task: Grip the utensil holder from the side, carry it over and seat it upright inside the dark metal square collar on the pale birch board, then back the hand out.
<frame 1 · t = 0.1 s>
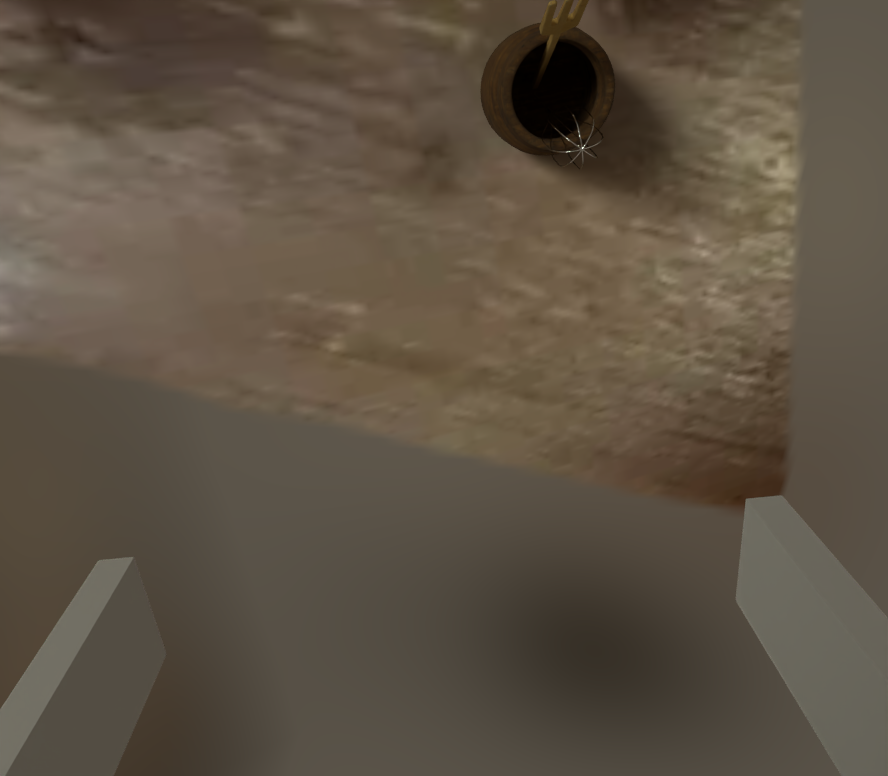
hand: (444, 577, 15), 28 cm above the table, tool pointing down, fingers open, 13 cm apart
utensil holder: (533, 87, 37), on the table
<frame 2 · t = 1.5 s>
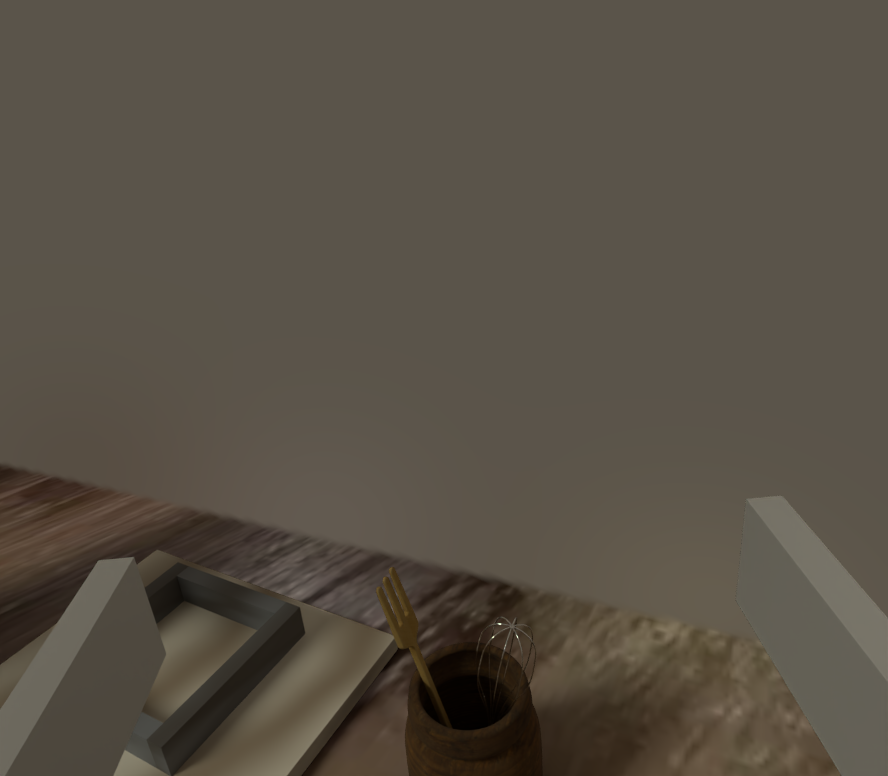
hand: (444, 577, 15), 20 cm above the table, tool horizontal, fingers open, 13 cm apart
collar board: (183, 679, 40), on the table
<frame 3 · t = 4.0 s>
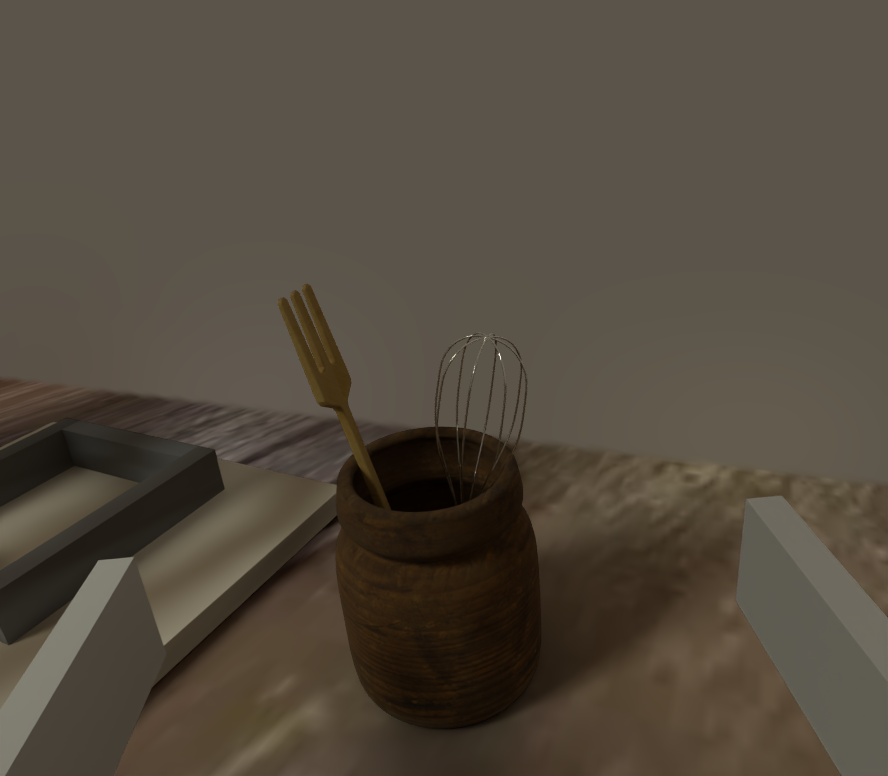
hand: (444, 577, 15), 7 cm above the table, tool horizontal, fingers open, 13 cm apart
collar board: (58, 548, 30), on the table
utensil holder: (445, 661, 22), on the table
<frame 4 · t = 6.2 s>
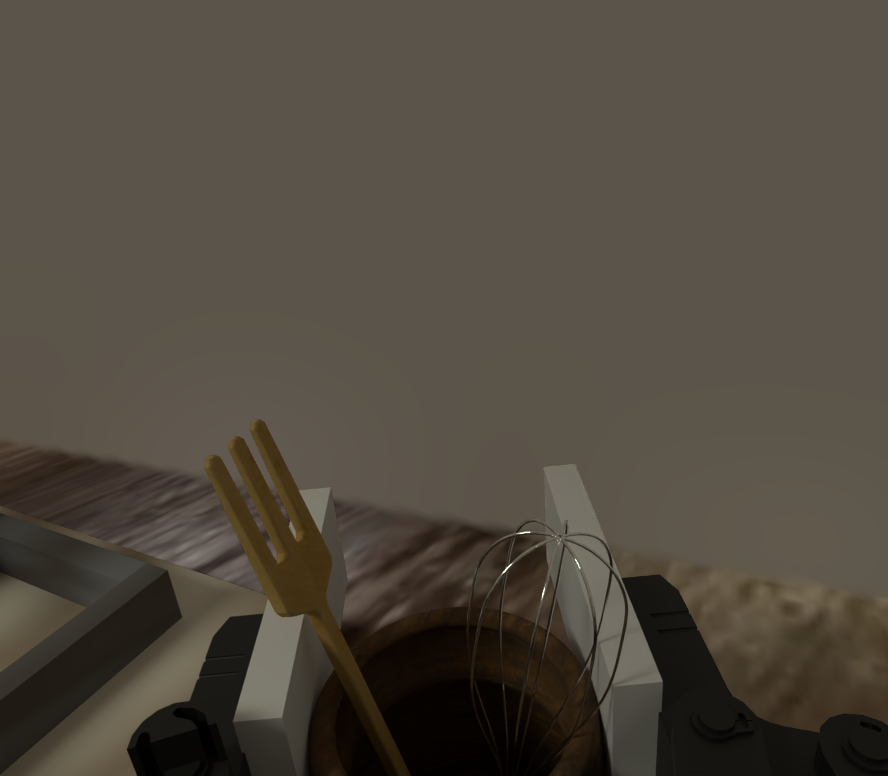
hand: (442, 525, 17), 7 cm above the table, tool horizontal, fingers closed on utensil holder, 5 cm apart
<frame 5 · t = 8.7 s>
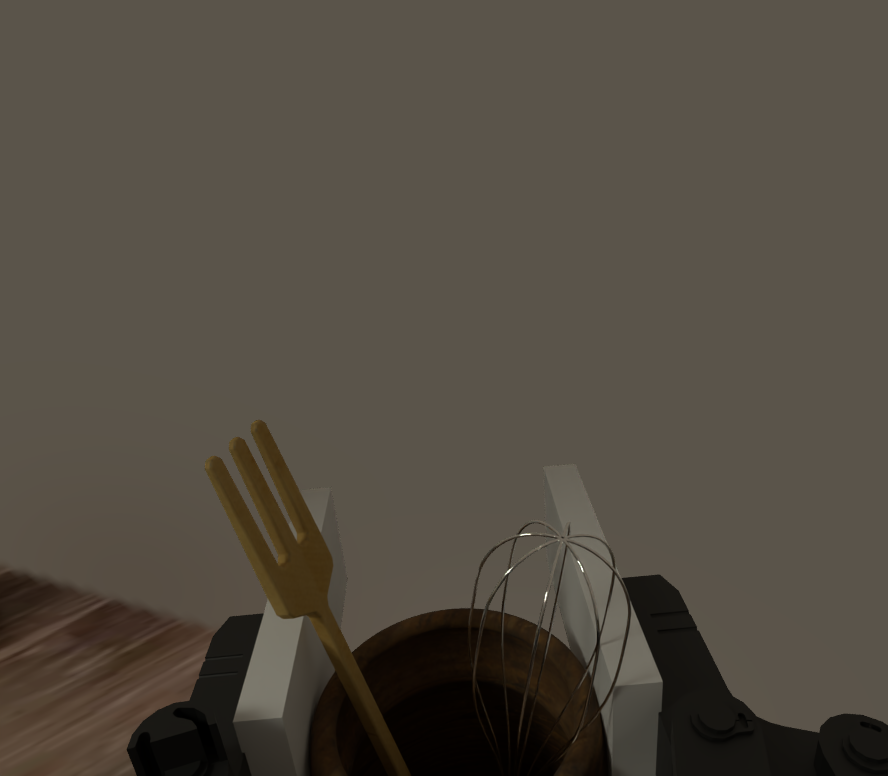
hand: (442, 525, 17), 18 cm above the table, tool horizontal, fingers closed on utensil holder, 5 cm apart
when the fingers open (9 cm above the table, at t = 11.5 s): utensil holder stays where it is, resting on collar board.
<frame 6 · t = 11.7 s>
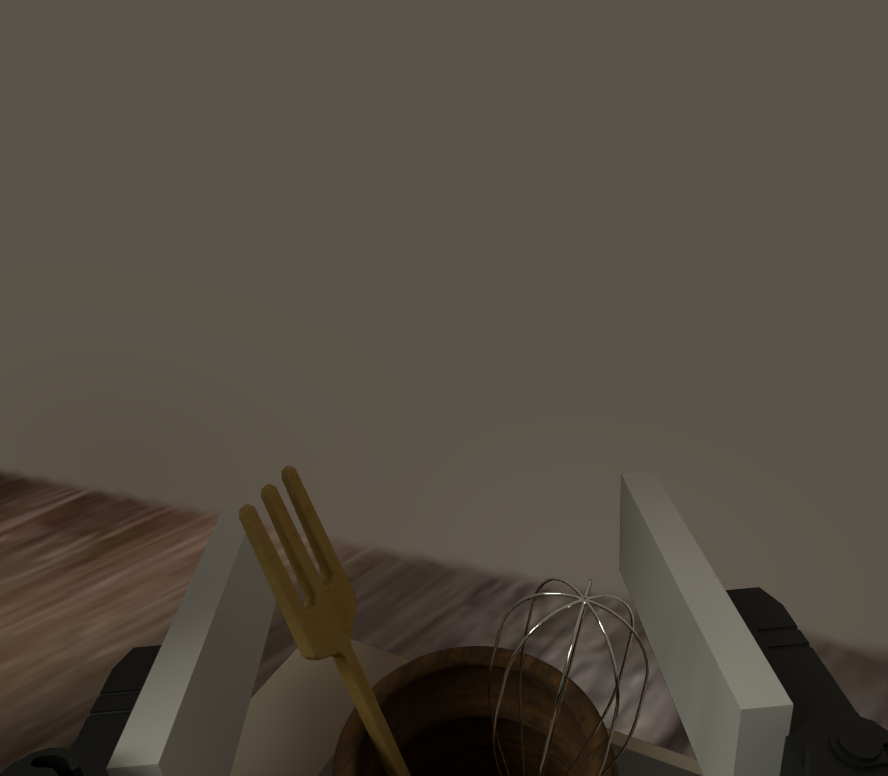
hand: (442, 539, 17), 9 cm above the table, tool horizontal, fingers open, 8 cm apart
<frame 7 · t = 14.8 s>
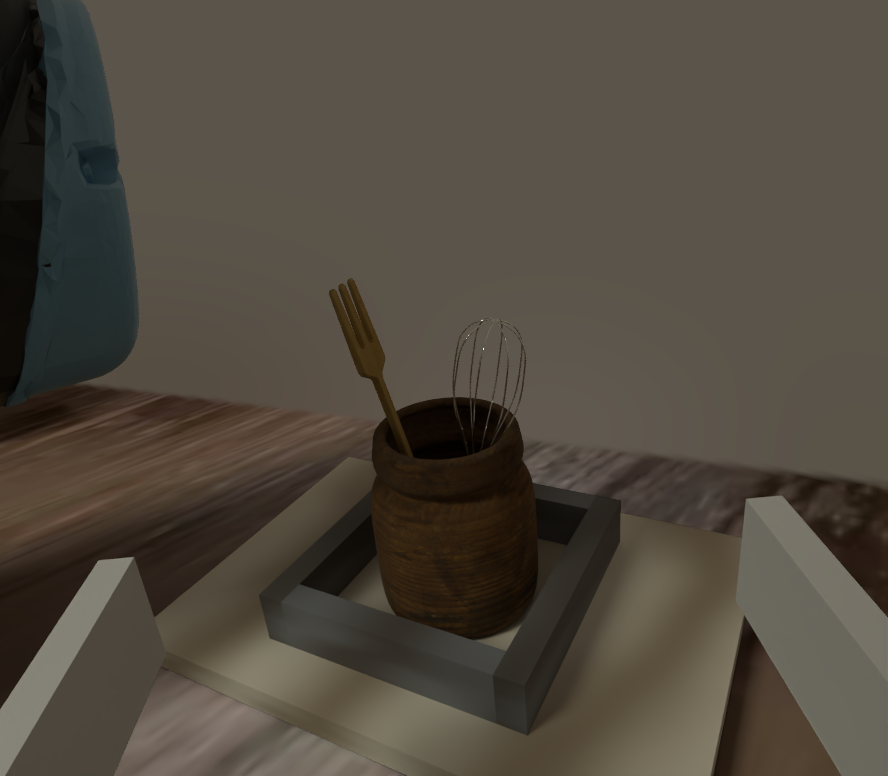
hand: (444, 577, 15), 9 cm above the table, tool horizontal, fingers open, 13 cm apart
collar board: (457, 607, 27), on the table
utensil holder: (458, 592, 27), point 1 cm above the table, touching collar board
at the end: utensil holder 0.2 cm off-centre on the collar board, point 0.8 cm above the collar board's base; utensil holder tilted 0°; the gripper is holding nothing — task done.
